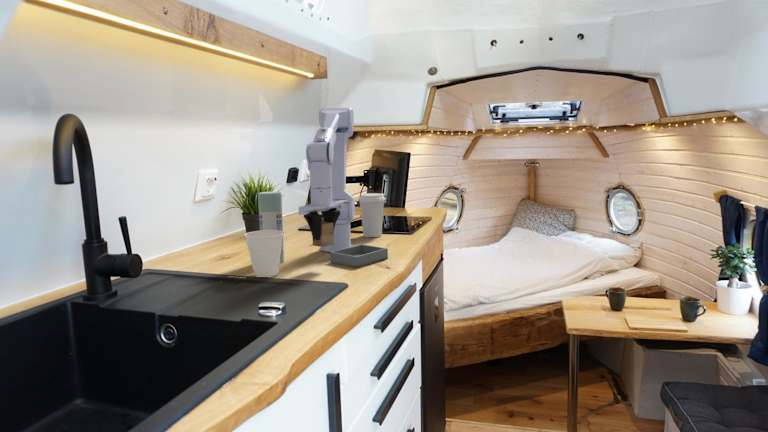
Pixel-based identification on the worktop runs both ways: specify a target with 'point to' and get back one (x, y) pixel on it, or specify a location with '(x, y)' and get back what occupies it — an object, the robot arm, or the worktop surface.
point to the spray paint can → (271, 214)
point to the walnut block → (325, 235)
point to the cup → (265, 251)
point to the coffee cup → (372, 213)
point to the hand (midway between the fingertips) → (322, 238)
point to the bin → (359, 255)
